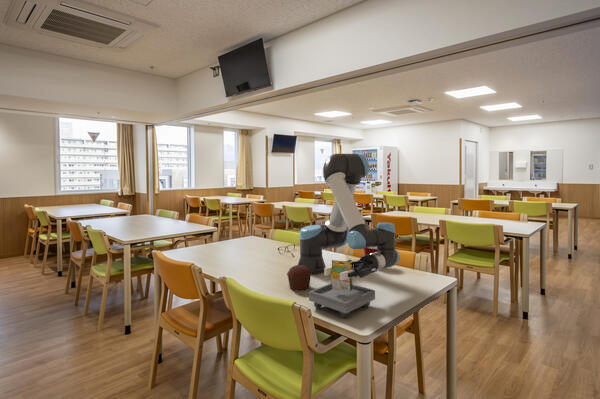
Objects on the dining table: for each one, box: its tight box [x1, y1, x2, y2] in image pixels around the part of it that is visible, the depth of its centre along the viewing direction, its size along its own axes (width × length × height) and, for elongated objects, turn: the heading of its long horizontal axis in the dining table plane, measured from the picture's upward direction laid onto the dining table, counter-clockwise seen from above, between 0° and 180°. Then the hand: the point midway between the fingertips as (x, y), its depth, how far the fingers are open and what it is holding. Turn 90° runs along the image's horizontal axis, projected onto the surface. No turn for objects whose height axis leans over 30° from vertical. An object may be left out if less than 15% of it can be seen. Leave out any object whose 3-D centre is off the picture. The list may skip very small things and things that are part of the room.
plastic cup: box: [363, 246, 377, 255], centre depth 185 cm, size 11×11×12 cm
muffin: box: [286, 264, 313, 292], centre depth 155 cm, size 12×11×10 cm
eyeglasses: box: [277, 244, 300, 258], centre depth 221 cm, size 16×16×4 cm
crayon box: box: [331, 259, 353, 292], centre depth 131 cm, size 7×3×12 cm, turn 66°
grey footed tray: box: [308, 282, 376, 319], centre depth 132 cm, size 18×18×6 cm
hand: (332, 274), depth 128 cm, fingers closed on crayon box, 8 cm apart
